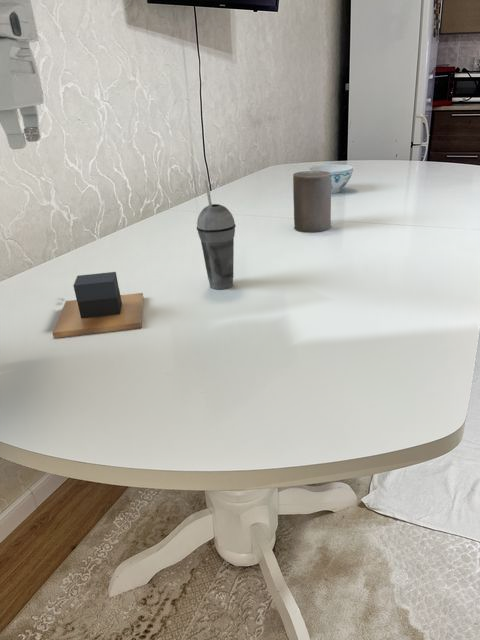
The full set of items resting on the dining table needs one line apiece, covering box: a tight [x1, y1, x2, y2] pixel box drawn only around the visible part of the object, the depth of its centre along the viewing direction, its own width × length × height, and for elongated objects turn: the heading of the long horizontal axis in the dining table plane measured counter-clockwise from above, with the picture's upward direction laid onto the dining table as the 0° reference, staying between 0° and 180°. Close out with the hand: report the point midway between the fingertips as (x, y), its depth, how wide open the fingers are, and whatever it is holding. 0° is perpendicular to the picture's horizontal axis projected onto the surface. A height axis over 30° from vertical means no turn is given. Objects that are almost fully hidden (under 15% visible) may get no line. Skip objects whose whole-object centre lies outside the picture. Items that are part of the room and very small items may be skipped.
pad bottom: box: [77, 288, 122, 319], centre depth 91 cm, size 6×5×3 cm
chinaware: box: [307, 163, 354, 194], centre depth 177 cm, size 15×15×8 cm
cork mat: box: [52, 292, 145, 339], centre depth 91 cm, size 14×14×1 cm
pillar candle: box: [292, 168, 332, 233], centre depth 134 cm, size 10×10×15 cm
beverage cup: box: [196, 179, 237, 291], centre depth 98 cm, size 7×7×20 cm
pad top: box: [72, 271, 120, 302], centre depth 89 cm, size 6×5×3 cm
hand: (26, 144), depth 72 cm, fingers open, 8 cm apart
